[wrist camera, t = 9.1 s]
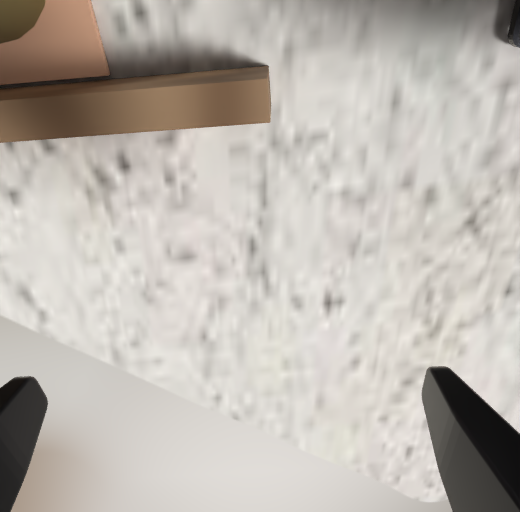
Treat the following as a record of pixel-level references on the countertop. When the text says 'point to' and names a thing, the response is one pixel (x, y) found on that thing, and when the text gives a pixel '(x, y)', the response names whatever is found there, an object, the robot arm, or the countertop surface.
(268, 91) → the corner arena
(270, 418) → the countertop surface
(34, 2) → the olive pepper mill
